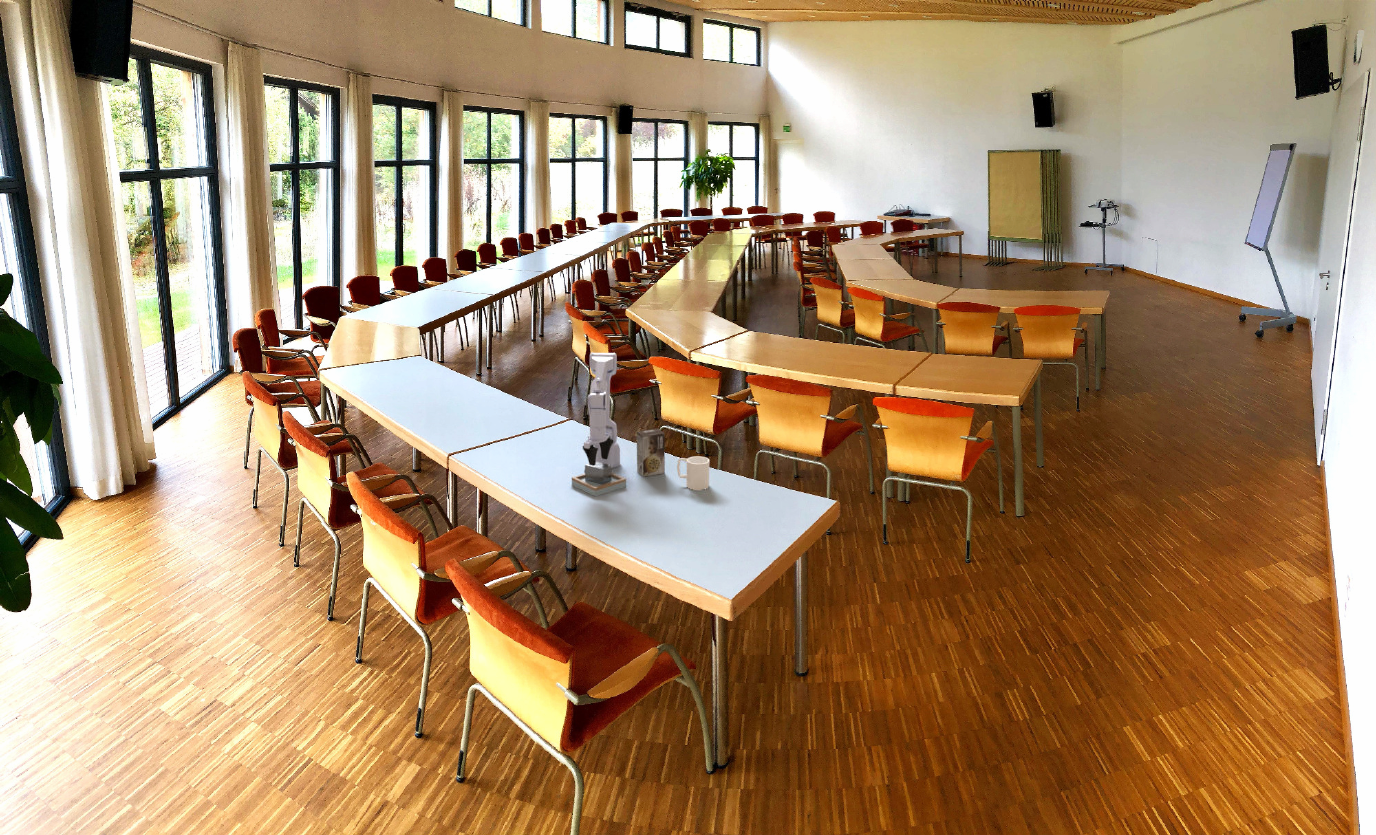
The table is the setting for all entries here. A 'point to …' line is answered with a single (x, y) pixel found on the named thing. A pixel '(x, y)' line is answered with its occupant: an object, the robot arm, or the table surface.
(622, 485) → the square tray
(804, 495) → the table surface
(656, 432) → the coffee box
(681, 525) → the table surface
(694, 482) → the cup
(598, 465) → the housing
